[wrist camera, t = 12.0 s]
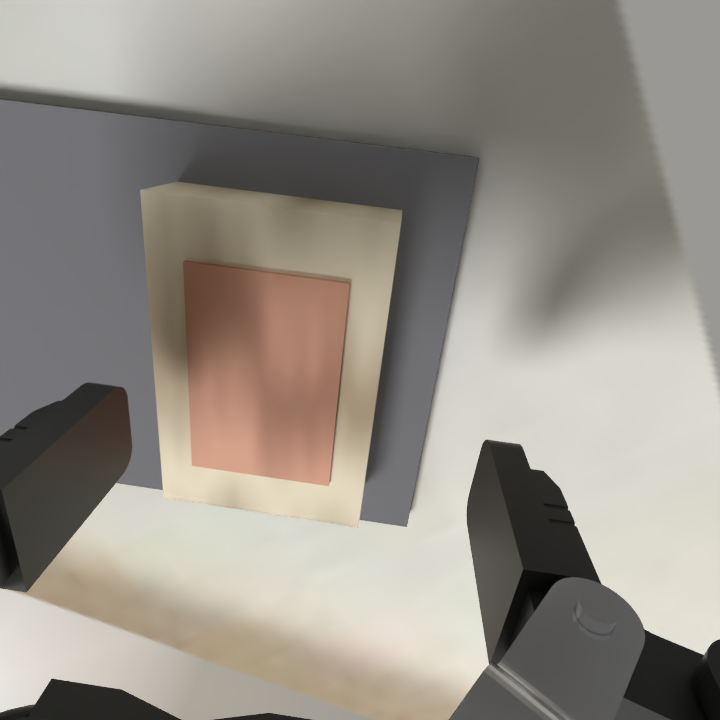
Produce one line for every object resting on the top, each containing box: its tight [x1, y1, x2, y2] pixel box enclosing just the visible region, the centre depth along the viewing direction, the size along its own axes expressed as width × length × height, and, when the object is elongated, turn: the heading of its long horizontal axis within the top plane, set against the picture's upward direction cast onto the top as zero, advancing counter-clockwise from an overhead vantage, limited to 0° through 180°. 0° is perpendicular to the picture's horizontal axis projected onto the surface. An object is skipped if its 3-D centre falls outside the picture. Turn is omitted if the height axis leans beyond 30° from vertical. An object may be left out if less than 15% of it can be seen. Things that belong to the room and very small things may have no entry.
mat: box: [0, 99, 479, 527], centre depth 16 cm, size 20×12×1 cm, turn 84°
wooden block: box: [140, 182, 402, 527], centre depth 14 cm, size 9×2×6 cm
